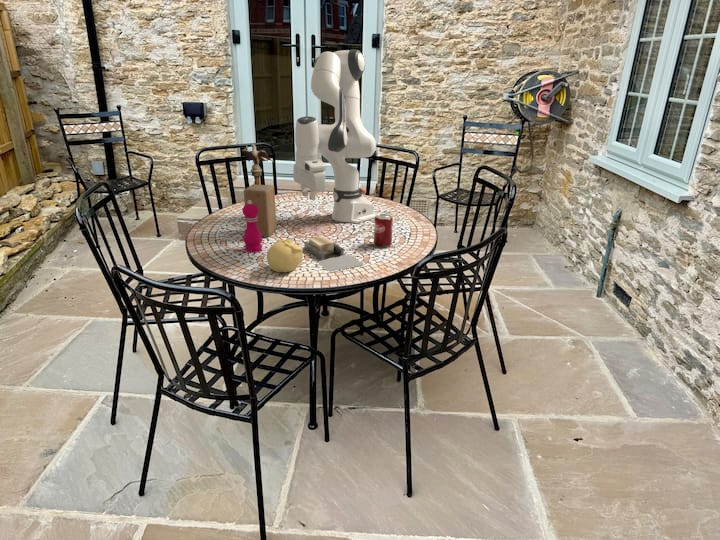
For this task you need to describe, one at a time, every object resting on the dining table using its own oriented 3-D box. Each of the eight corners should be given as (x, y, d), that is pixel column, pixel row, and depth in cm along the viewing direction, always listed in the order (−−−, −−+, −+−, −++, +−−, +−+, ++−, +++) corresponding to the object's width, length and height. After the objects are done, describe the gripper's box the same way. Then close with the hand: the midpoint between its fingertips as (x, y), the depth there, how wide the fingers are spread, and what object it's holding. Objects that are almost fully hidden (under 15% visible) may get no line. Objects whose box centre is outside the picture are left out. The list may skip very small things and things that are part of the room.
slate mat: (349, 256, 184) (349, 254, 183) (363, 265, 176) (363, 263, 176) (316, 263, 177) (316, 261, 176) (329, 273, 169) (329, 271, 169)
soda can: (379, 249, 191) (380, 220, 186) (370, 243, 197) (371, 214, 192) (394, 246, 194) (396, 217, 189) (385, 240, 200) (387, 212, 195)
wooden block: (269, 238, 200) (265, 191, 192) (246, 236, 202) (242, 189, 193) (277, 230, 209) (274, 185, 201) (255, 228, 211) (252, 183, 202)
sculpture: (308, 268, 172) (307, 240, 168) (281, 278, 164) (279, 249, 160) (288, 259, 180) (287, 232, 175) (261, 268, 172) (259, 240, 167)
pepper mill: (242, 247, 190) (238, 198, 182) (260, 245, 192) (257, 196, 184) (246, 254, 184) (241, 203, 175) (264, 251, 186) (261, 201, 178)
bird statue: (253, 209, 235) (247, 136, 221) (278, 211, 233) (274, 137, 219) (239, 220, 220) (232, 142, 206) (266, 222, 218) (261, 143, 204)
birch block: (322, 244, 192) (322, 235, 190) (333, 252, 185) (333, 242, 184) (309, 247, 189) (308, 238, 187) (319, 255, 182) (319, 245, 181)
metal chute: (326, 245, 194) (325, 237, 192) (343, 256, 183) (343, 249, 182) (304, 249, 189) (304, 242, 188) (321, 261, 178) (321, 254, 177)
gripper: (288, 158, 187) (290, 192, 193) (312, 168, 172) (313, 205, 178) (303, 156, 191) (304, 190, 196) (328, 166, 175) (328, 203, 181)
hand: (308, 197), depth 187 cm, fingers open, 5 cm apart
